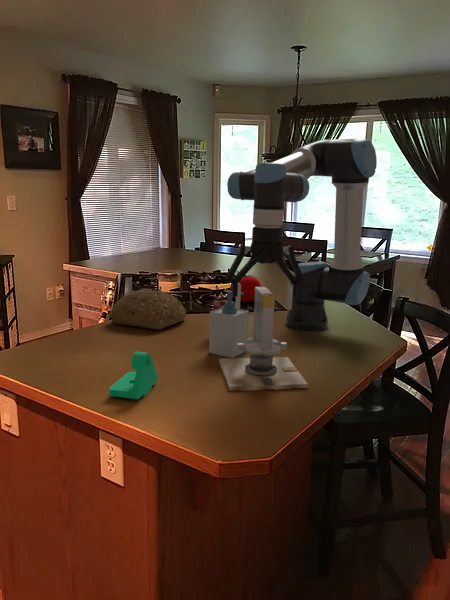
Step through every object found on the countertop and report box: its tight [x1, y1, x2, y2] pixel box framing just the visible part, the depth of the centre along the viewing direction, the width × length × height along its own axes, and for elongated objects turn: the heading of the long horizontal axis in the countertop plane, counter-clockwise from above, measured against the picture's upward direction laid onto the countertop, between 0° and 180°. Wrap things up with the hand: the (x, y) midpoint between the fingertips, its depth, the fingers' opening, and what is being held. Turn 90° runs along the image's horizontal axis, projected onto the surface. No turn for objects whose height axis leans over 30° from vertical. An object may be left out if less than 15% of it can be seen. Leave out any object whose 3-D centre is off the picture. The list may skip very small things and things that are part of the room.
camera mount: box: [108, 351, 158, 400], centre depth 122 cm, size 12×8×10 cm, turn 166°
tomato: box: [229, 274, 262, 303], centre depth 218 cm, size 13×14×12 cm
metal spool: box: [245, 354, 277, 376], centre depth 135 cm, size 8×8×6 cm
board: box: [218, 356, 309, 392], centre depth 135 cm, size 20×20×2 cm
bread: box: [109, 288, 187, 330], centre depth 181 cm, size 24×21×12 cm
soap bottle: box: [208, 289, 250, 358], centre depth 151 cm, size 9×9×19 cm
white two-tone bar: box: [237, 286, 288, 357], centre depth 132 cm, size 13×11×16 cm
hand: (263, 308), depth 131 cm, fingers open, 13 cm apart
